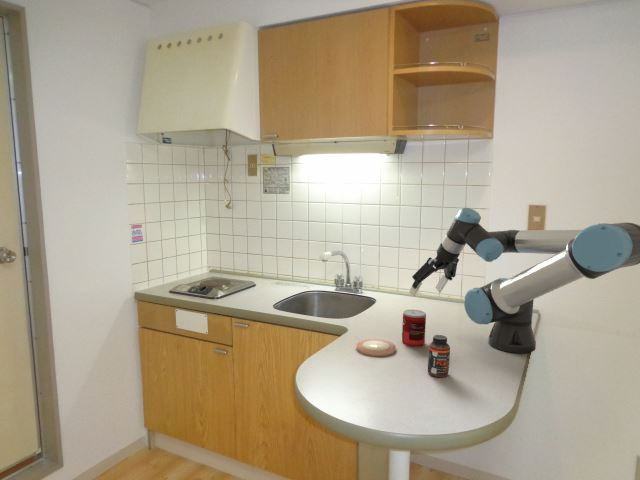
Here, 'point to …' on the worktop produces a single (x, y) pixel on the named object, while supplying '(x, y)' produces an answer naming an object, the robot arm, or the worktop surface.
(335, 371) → the worktop surface
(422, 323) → the canned food
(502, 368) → the worktop surface
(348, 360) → the worktop surface
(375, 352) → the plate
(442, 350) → the supplement bottle
